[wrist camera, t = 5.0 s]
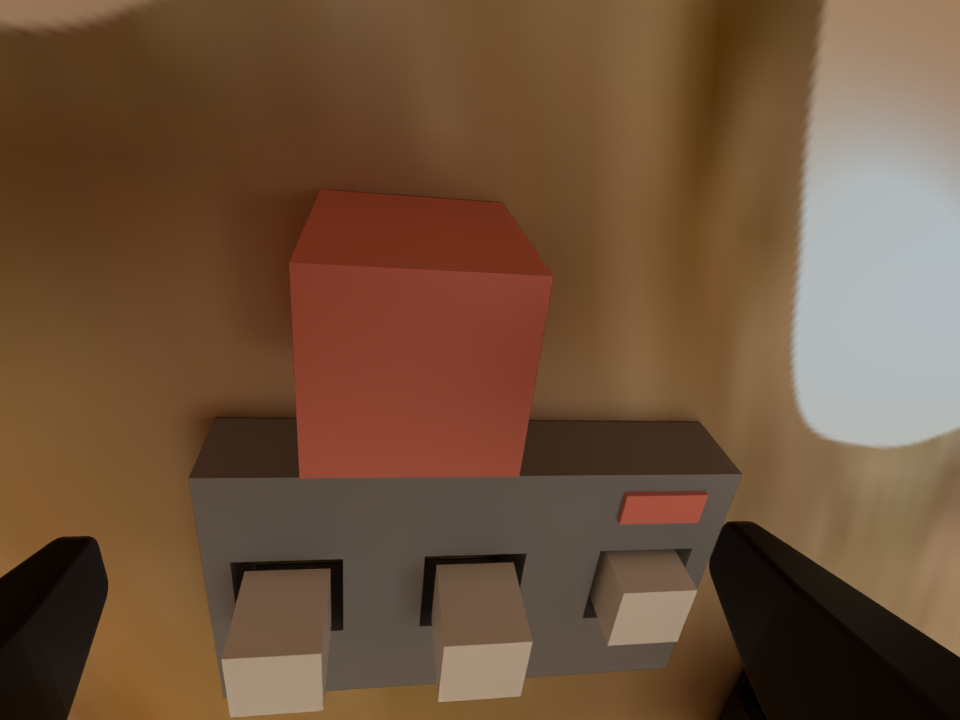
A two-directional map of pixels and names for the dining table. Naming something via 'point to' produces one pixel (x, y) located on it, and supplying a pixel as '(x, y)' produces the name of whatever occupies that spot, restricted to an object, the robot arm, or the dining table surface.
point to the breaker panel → (459, 536)
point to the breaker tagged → (641, 596)
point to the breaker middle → (479, 632)
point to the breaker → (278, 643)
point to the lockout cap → (414, 337)
